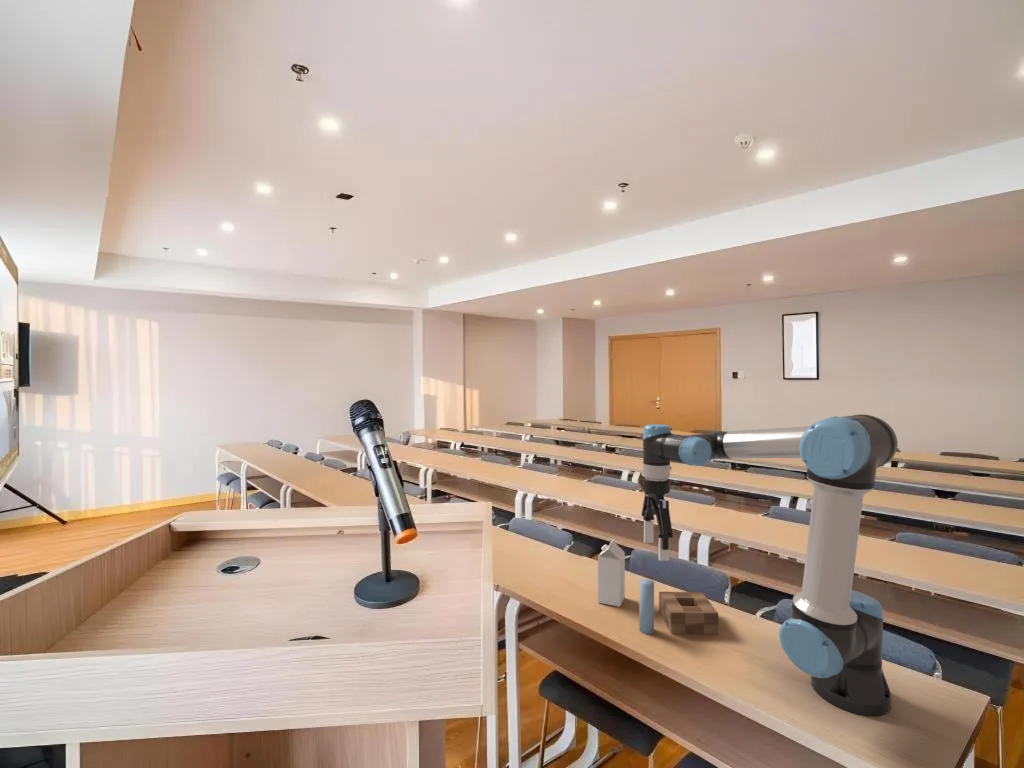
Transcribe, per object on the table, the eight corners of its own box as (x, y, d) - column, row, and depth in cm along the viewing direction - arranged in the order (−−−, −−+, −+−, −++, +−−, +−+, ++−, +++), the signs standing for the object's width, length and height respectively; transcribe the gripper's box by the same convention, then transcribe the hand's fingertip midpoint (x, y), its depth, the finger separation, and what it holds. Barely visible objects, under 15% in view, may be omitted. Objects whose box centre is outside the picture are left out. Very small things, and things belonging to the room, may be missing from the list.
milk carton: (624, 597, 160) (624, 540, 160) (620, 607, 154) (620, 547, 153) (603, 593, 163) (603, 537, 163) (597, 603, 157) (597, 544, 156)
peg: (655, 634, 138) (655, 585, 138) (641, 634, 138) (641, 585, 138) (651, 626, 142) (652, 579, 142) (638, 626, 142) (638, 579, 142)
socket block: (718, 634, 138) (718, 613, 138) (671, 633, 138) (671, 612, 138) (701, 611, 151) (702, 592, 151) (659, 610, 151) (659, 591, 151)
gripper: (685, 488, 130) (685, 568, 130) (655, 468, 155) (654, 535, 155) (657, 489, 129) (657, 568, 130) (631, 469, 154) (631, 536, 155)
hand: (655, 551), depth 143 cm, fingers open, 13 cm apart
